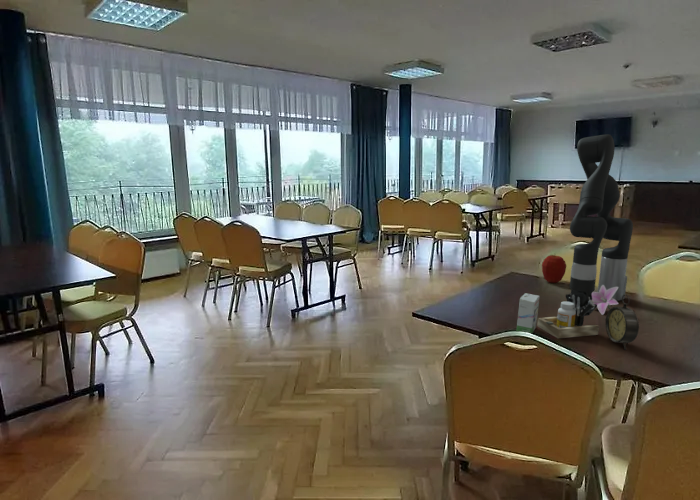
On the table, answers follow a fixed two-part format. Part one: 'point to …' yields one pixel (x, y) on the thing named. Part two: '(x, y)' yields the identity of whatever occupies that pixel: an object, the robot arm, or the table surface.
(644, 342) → the table surface
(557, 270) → the apple
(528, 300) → the ink box
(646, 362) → the table surface
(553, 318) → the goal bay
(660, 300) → the table surface
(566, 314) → the supplement bottle
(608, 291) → the lily
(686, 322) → the table surface
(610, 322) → the alarm clock
